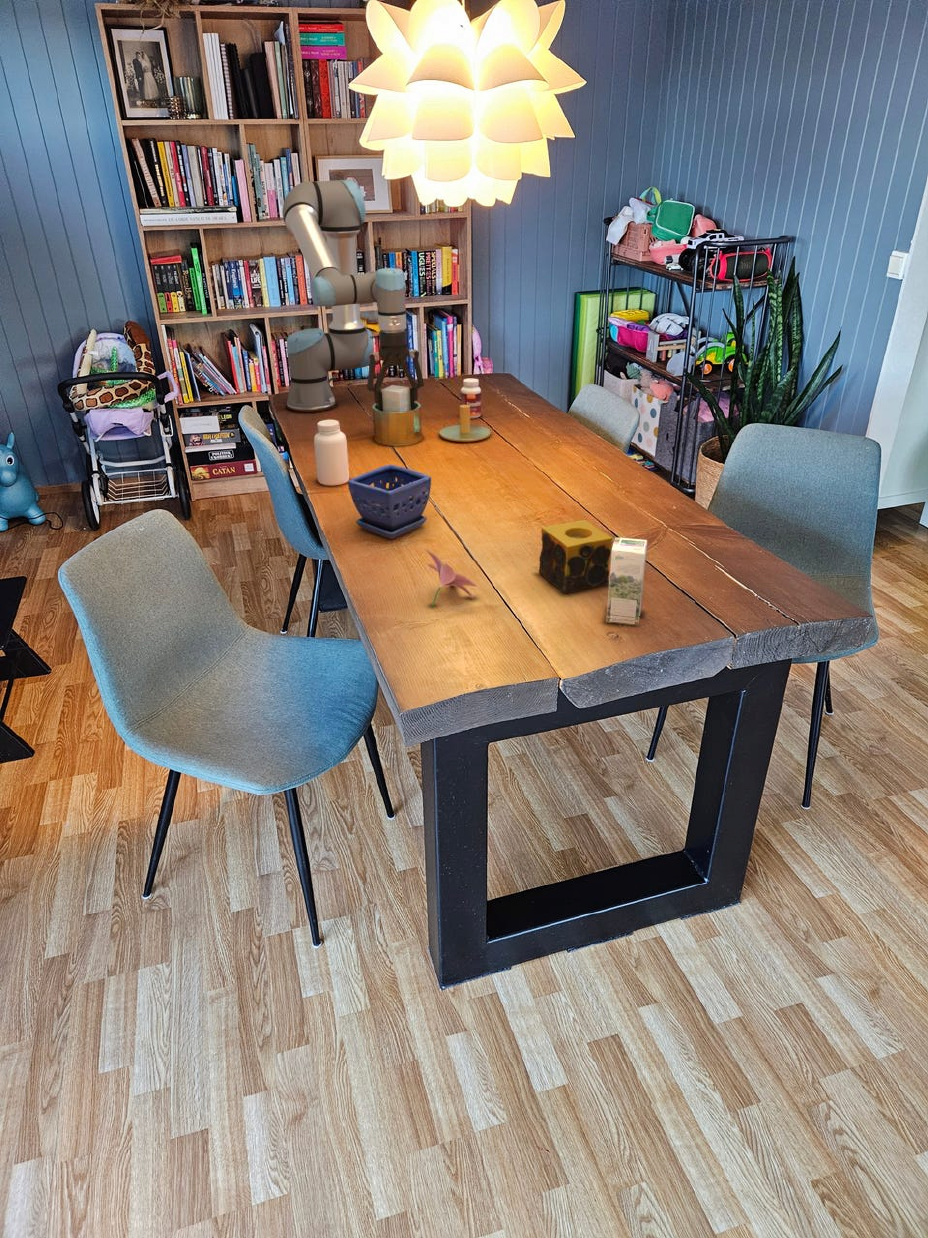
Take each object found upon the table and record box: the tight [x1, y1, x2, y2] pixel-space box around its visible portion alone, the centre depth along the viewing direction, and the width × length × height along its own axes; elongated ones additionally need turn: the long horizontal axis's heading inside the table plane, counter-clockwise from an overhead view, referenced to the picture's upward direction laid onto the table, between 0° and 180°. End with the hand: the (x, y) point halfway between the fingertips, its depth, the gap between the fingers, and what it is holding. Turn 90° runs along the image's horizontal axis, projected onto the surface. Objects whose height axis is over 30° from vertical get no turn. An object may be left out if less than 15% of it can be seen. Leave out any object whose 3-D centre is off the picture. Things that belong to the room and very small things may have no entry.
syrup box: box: [605, 536, 648, 627], centre depth 153 cm, size 6×6×14 cm
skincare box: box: [380, 384, 411, 412], centre depth 246 cm, size 6×6×7 cm
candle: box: [538, 519, 613, 594], centre depth 168 cm, size 10×10×10 cm
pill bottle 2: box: [460, 377, 482, 419], centre depth 268 cm, size 6×6×11 cm
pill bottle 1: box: [313, 419, 350, 487], centre depth 218 cm, size 8×8×15 cm
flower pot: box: [347, 464, 432, 540], centre depth 191 cm, size 13×13×12 cm
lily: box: [424, 548, 478, 607], centre depth 162 cm, size 12×12×10 cm
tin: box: [371, 401, 423, 447], centre depth 249 cm, size 14×14×10 cm
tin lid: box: [439, 404, 491, 443], centre depth 251 cm, size 15×15×9 cm
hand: (396, 413), depth 248 cm, fingers closed on skincare box, 8 cm apart
